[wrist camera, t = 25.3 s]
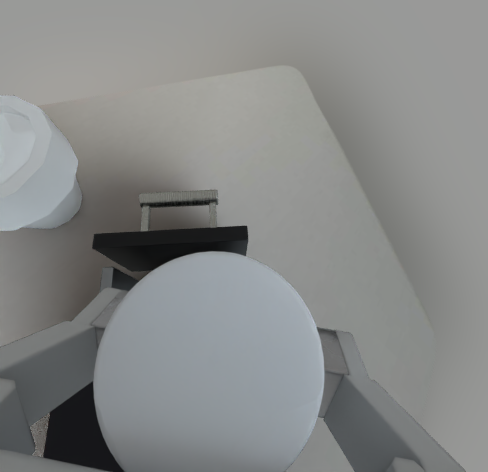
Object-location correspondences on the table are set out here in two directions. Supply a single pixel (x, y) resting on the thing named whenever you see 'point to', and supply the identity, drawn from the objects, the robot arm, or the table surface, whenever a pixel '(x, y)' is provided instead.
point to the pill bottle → (209, 369)
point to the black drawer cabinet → (78, 434)
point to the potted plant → (34, 169)
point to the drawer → (165, 238)
